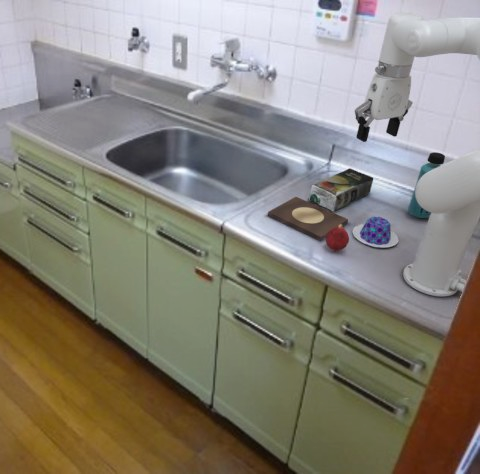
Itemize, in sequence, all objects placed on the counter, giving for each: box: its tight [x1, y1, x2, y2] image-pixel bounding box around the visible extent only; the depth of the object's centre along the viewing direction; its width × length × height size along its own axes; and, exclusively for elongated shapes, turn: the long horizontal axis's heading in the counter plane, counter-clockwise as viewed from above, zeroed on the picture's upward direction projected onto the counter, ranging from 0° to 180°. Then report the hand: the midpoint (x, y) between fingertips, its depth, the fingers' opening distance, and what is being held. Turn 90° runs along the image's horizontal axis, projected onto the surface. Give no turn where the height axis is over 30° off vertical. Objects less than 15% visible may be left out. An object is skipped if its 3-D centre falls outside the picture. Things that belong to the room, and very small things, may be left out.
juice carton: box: [309, 167, 374, 213], centre depth 164 cm, size 20×10×6 cm, turn 128°
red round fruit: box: [325, 224, 350, 252], centre depth 139 cm, size 6×6×8 cm
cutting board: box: [267, 196, 349, 242], centre depth 153 cm, size 18×14×2 cm
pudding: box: [352, 216, 399, 249], centre depth 145 cm, size 12×12×5 cm
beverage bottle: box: [407, 151, 446, 219], centre depth 151 cm, size 6×7×20 cm
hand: (376, 137), depth 135 cm, fingers open, 9 cm apart
